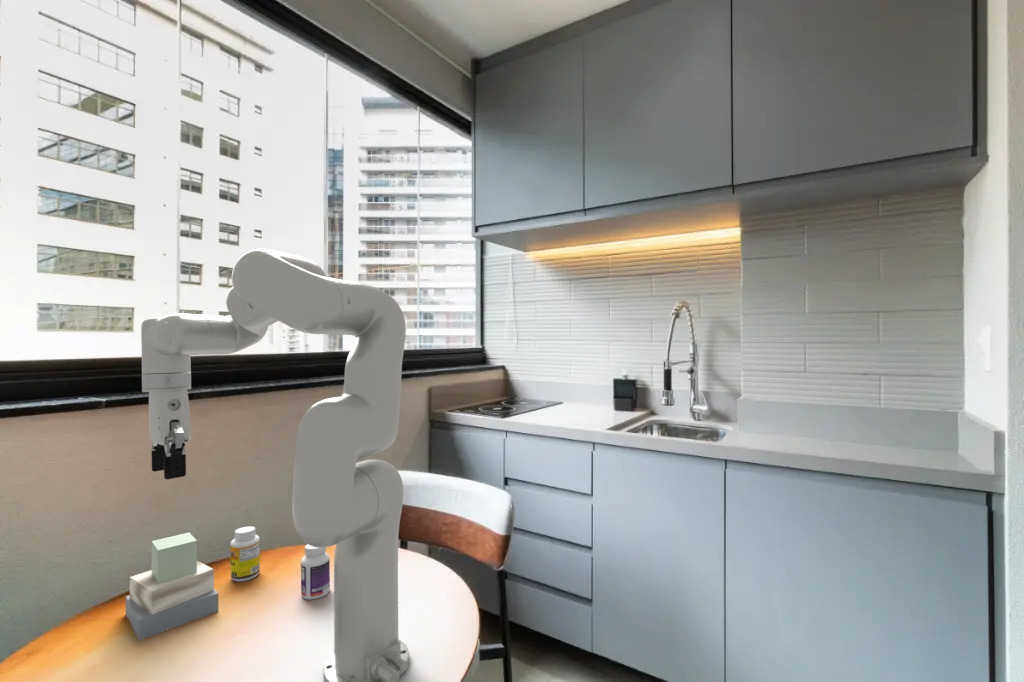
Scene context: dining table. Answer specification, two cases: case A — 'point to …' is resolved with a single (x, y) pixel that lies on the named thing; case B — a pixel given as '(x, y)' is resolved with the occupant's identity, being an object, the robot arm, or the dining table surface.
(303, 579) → the pill bottle
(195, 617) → the base block
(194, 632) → the dining table surface
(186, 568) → the sage block
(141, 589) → the top block
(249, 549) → the supplement bottle
